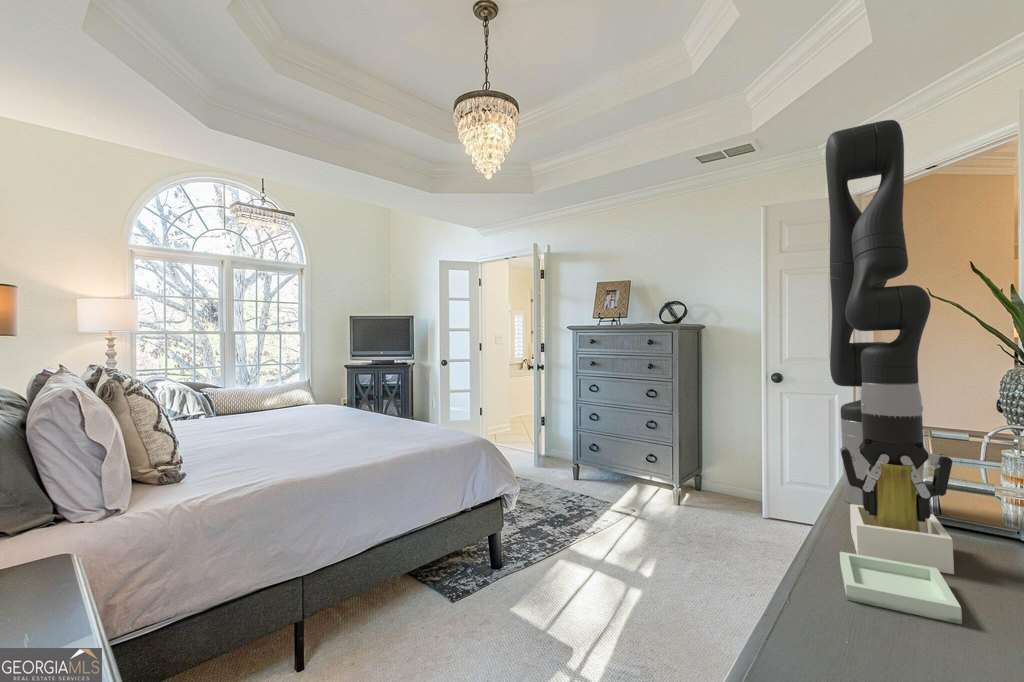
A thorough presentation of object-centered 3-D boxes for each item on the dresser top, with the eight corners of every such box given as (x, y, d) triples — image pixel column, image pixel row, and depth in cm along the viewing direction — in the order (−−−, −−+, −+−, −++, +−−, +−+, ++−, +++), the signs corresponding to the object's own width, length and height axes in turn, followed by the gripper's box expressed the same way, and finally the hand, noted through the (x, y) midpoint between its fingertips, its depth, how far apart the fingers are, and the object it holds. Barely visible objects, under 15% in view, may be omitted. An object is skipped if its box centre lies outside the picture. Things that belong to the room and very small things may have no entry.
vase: (932, 561, 69) (928, 466, 69) (886, 558, 70) (882, 466, 71) (906, 544, 75) (903, 457, 75) (864, 542, 76) (861, 456, 77)
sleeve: (851, 532, 80) (849, 504, 81) (934, 545, 75) (933, 514, 75) (858, 557, 71) (856, 525, 71) (954, 574, 65) (952, 539, 65)
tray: (840, 564, 69) (839, 551, 69) (937, 582, 63) (937, 568, 63) (846, 599, 60) (846, 584, 60) (962, 624, 54) (961, 607, 54)
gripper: (944, 409, 73) (949, 516, 72) (834, 406, 80) (838, 503, 80) (958, 416, 66) (964, 533, 66) (837, 411, 74) (842, 517, 74)
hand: (895, 516), depth 73 cm, fingers closed on vase, 5 cm apart
